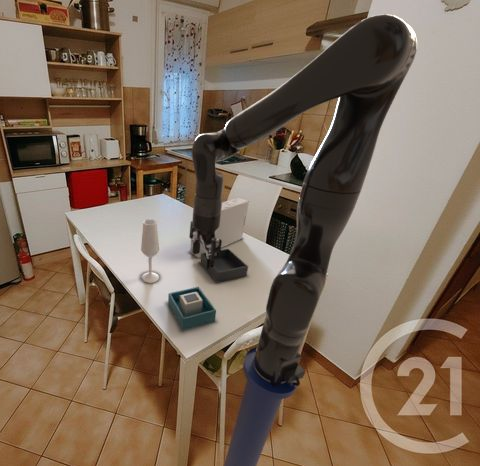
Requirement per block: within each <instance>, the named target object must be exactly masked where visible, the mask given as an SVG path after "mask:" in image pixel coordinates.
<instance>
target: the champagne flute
mask: <svg viewBox="0 0 480 466" xmlns="http://www.w3.org/2000/svg"><path fill="white" fill-rule="evenodd" d="M159 241H160V240H159V231H158V221H157V220H156V219H152V218H150V219H149V218H147V219H144V220H143V222H142V233H141V244H140V245H141V246H140V250H141V253H142V254H143V255H144V256H146V257H148V272H146V273H143V274H142V276H141V280H142V281H143V282H145V283H149V284H152V283H156V282H157V281H159V279H160V276H159V275H158V274H157V273H156V272H153V257H155V256H156V255H157V254H158V253H159V252H160V242H159Z"/></svg>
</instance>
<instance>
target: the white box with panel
mask: <svg viewBox="0 0 480 466" xmlns="http://www.w3.org/2000/svg"><path fill="white" fill-rule="evenodd" d="M202 303H203V300H202V299H201V297H200V296H199V294H198V293H197V292H193V293H188V294H184V295H180V303H179V309H180V310H181V312H182V314H183V316H184V317H188V316H192V315H196V314H200V313H201V312H202Z"/></svg>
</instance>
